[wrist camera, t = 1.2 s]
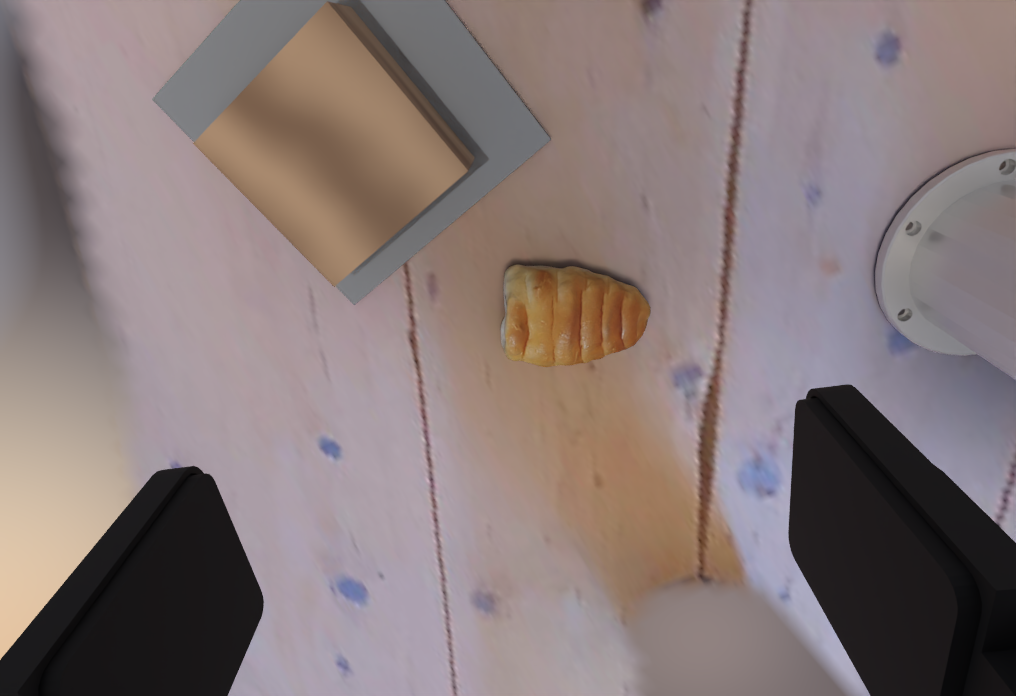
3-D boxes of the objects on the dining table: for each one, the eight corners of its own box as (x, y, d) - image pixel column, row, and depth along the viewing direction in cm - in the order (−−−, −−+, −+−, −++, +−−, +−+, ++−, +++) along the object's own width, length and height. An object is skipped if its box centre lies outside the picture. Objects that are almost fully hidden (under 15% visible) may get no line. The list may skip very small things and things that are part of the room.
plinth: (353, -11, 34) (326, -20, 29) (490, 157, 37) (484, 172, 33) (219, 130, 37) (176, 141, 33) (356, 272, 41) (334, 300, 36)
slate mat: (352, -121, 32) (349, -123, 31) (550, 138, 37) (550, 139, 36) (157, 98, 37) (151, 99, 36) (356, 302, 41) (354, 305, 41)
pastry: (649, 259, 40) (661, 280, 36) (640, 356, 43) (650, 383, 39) (500, 259, 40) (497, 279, 37) (501, 355, 43) (498, 382, 40)
